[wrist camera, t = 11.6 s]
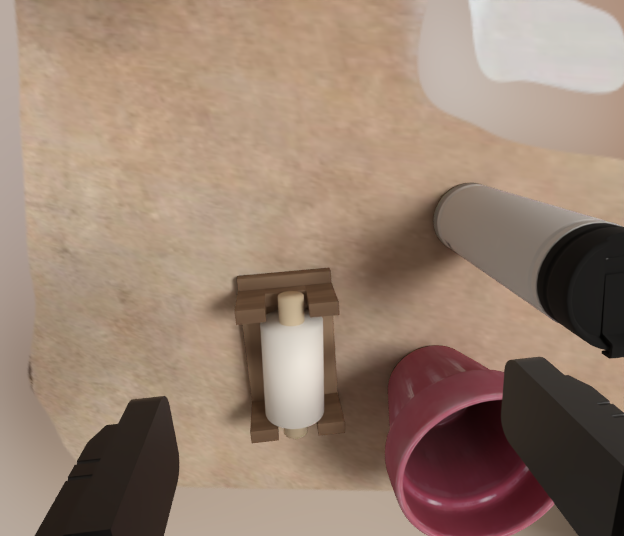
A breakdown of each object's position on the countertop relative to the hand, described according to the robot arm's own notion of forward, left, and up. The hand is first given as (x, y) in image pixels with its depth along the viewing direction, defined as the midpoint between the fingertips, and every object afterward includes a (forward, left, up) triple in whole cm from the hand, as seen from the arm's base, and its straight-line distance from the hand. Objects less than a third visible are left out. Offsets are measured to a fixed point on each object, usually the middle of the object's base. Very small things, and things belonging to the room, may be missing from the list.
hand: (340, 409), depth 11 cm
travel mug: (+3, +16, -30) cm, 34 cm away
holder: (+14, -1, -30) cm, 33 cm away
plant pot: (+20, +13, -30) cm, 39 cm away
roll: (+14, +1, -28) cm, 32 cm away
